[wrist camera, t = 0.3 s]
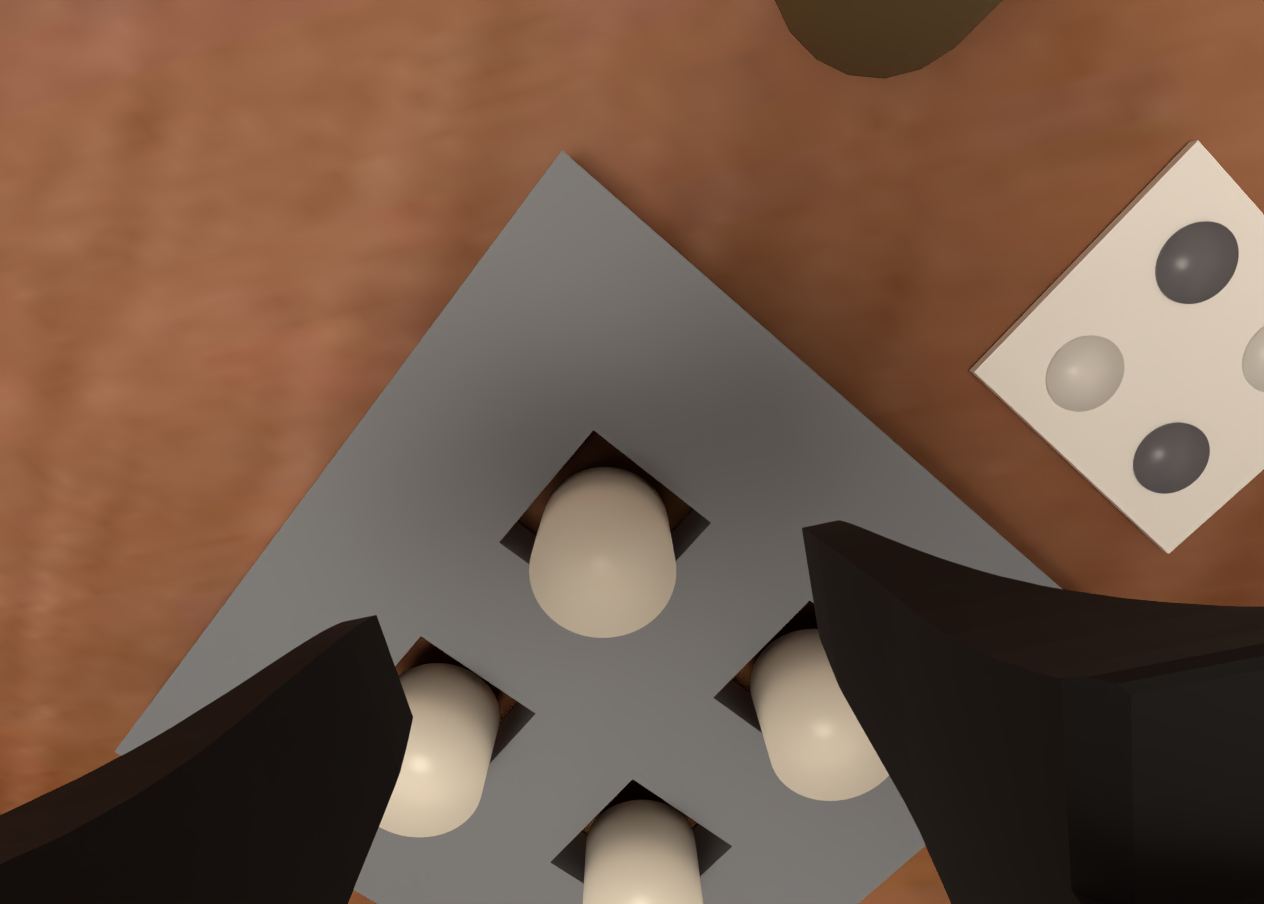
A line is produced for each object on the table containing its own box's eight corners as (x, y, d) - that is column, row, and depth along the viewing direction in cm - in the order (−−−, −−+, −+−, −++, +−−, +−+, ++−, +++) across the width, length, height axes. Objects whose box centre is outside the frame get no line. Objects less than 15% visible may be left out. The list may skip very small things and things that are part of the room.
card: (1378, 355, 20) (1393, 357, 20) (1161, 549, 22) (1170, 555, 22) (1189, 141, 19) (1201, 139, 18) (969, 370, 20) (975, 372, 20)
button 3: (694, 518, 20) (706, 563, 17) (614, 607, 21) (613, 663, 18) (595, 441, 19) (591, 474, 16) (516, 535, 20) (499, 582, 17)
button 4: (523, 706, 22) (509, 775, 19) (454, 782, 22) (431, 858, 19) (426, 641, 21) (396, 702, 18) (359, 721, 22) (320, 791, 19)
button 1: (891, 673, 21) (931, 737, 19) (809, 750, 22) (837, 822, 19) (806, 606, 21) (835, 662, 18) (725, 688, 21) (741, 754, 19)
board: (1097, 624, 23) (1141, 658, 21) (662, 1012, 27) (665, 1069, 26) (568, 160, 19) (562, 150, 17) (156, 709, 23) (114, 751, 21)
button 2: (717, 837, 23) (731, 918, 20) (647, 903, 24) (651, 991, 21) (633, 781, 22) (635, 856, 20) (564, 851, 23) (556, 934, 20)
